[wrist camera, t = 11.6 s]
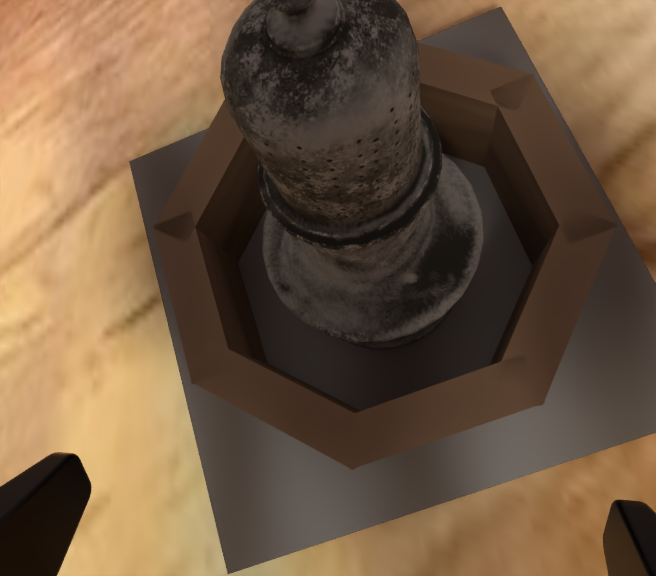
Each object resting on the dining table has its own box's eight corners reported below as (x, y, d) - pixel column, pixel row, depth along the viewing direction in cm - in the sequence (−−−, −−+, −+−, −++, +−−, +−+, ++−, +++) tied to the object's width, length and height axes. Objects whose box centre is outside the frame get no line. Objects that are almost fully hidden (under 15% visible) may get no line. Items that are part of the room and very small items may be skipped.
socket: (239, 565, 16) (173, 615, 12) (142, 173, 21) (69, 109, 17) (706, 410, 15) (816, 405, 11) (497, 26, 20) (516, -84, 15)
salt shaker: (285, 205, 18) (48, -159, 7) (453, 172, 17) (501, -307, 6) (303, 371, 17) (33, 257, 5) (489, 343, 16) (652, 135, 4)
